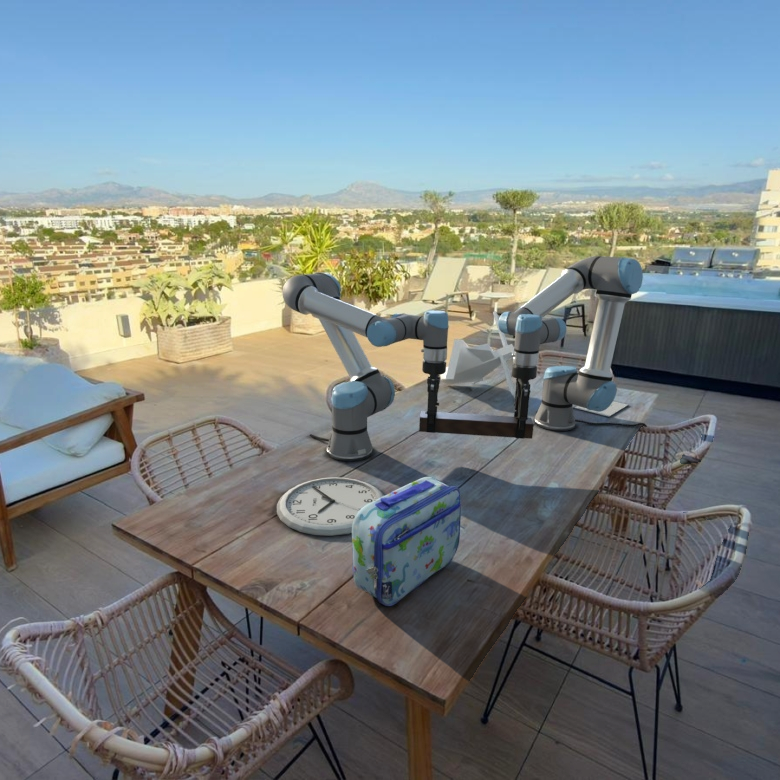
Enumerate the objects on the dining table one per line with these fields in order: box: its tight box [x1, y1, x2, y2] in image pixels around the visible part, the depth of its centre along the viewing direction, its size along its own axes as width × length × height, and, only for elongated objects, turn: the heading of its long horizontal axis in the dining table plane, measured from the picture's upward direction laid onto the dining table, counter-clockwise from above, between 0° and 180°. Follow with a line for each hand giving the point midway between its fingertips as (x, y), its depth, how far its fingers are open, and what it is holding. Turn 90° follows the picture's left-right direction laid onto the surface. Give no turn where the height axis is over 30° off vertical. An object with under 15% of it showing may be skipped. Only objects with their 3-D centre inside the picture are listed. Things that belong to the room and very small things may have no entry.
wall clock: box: [276, 476, 385, 537], centre depth 142 cm, size 30×2×30 cm
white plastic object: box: [439, 310, 516, 398], centre depth 245 cm, size 37×45×31 cm
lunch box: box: [351, 476, 462, 607], centre depth 111 cm, size 26×11×21 cm, turn 135°
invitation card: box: [573, 400, 629, 418], centre depth 226 cm, size 21×1×15 cm
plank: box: [418, 410, 535, 440], centre depth 170 cm, size 36×6×5 cm, turn 83°
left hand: (431, 428), depth 172 cm, fingers closed on plank, 6 cm apart
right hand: (518, 433), depth 169 cm, fingers closed on plank, 6 cm apart
